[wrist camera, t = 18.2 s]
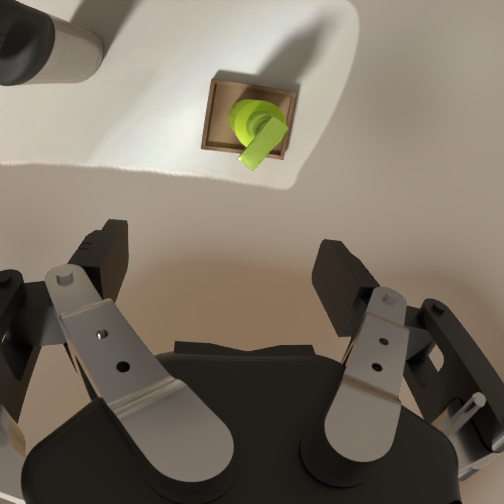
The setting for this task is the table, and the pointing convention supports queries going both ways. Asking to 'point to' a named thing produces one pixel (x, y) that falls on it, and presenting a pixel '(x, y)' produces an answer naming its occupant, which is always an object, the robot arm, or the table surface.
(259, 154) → the soap dispenser
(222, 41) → the table surface
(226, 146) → the soap tray
